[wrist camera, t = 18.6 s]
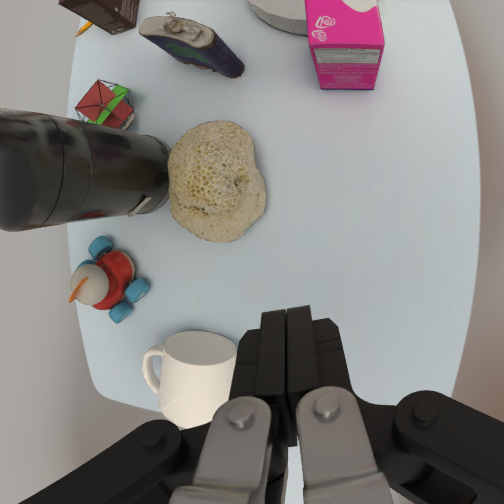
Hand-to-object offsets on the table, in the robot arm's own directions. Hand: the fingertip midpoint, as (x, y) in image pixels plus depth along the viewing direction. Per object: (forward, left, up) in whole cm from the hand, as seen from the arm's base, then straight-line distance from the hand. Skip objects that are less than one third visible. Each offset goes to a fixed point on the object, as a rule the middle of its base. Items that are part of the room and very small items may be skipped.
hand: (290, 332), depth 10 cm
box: (-20, +35, -24) cm, 47 cm away
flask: (-9, +22, -24) cm, 34 cm away
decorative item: (-10, +7, -24) cm, 27 cm away
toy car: (-27, -2, -24) cm, 36 cm away
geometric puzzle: (-24, +19, -16) cm, 35 cm away
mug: (-17, -14, -24) cm, 32 cm away
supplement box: (+5, +18, -24) cm, 30 cm away
